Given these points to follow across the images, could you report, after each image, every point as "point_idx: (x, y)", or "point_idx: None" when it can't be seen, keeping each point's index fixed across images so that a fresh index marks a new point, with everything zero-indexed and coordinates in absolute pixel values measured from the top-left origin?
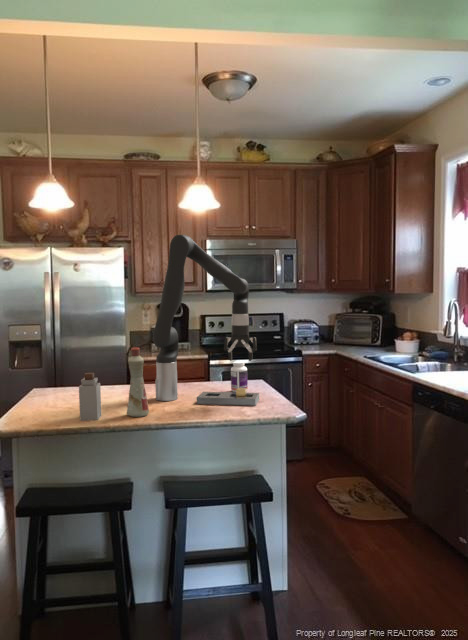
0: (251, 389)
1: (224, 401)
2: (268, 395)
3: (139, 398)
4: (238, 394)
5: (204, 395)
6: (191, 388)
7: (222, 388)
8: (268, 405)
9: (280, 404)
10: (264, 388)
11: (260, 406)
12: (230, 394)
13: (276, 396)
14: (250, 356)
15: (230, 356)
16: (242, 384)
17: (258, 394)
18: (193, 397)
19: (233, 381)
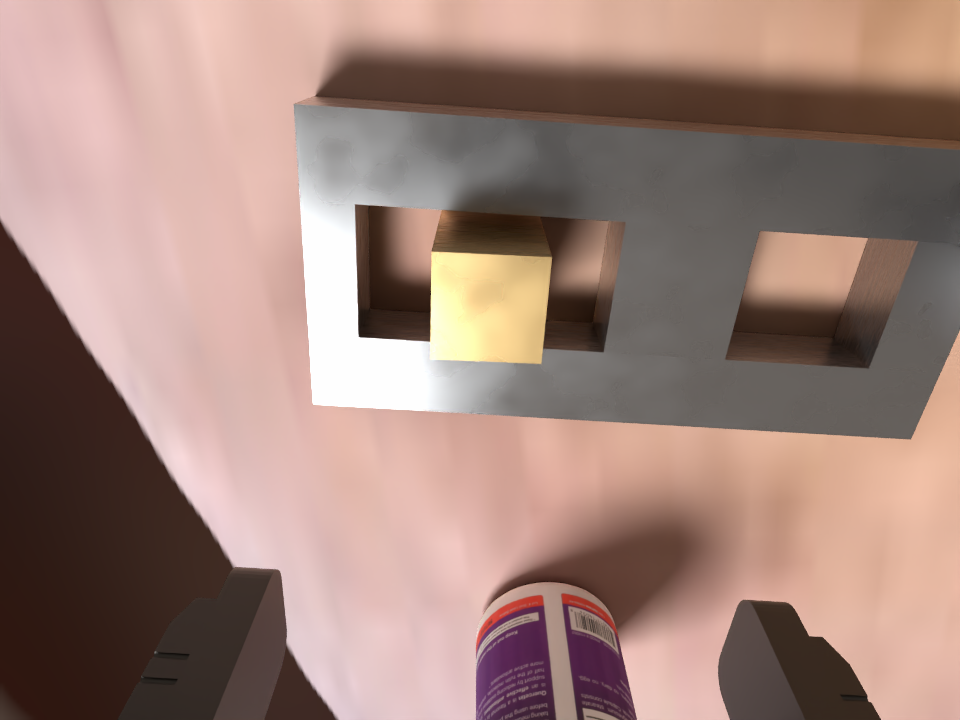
0: (454, 679)
1: (675, 126)
2: (278, 514)
3: None
4: (519, 238)
5: (922, 261)
6: (938, 693)
7: (686, 699)
8: (178, 125)
9: (65, 180)
10: (358, 706)
11: (253, 70)
12: (616, 324)
13: (199, 485)
14: (188, 677)
15: (815, 692)
16: (517, 641)
17: (310, 349)
18: None
19: (607, 670)
